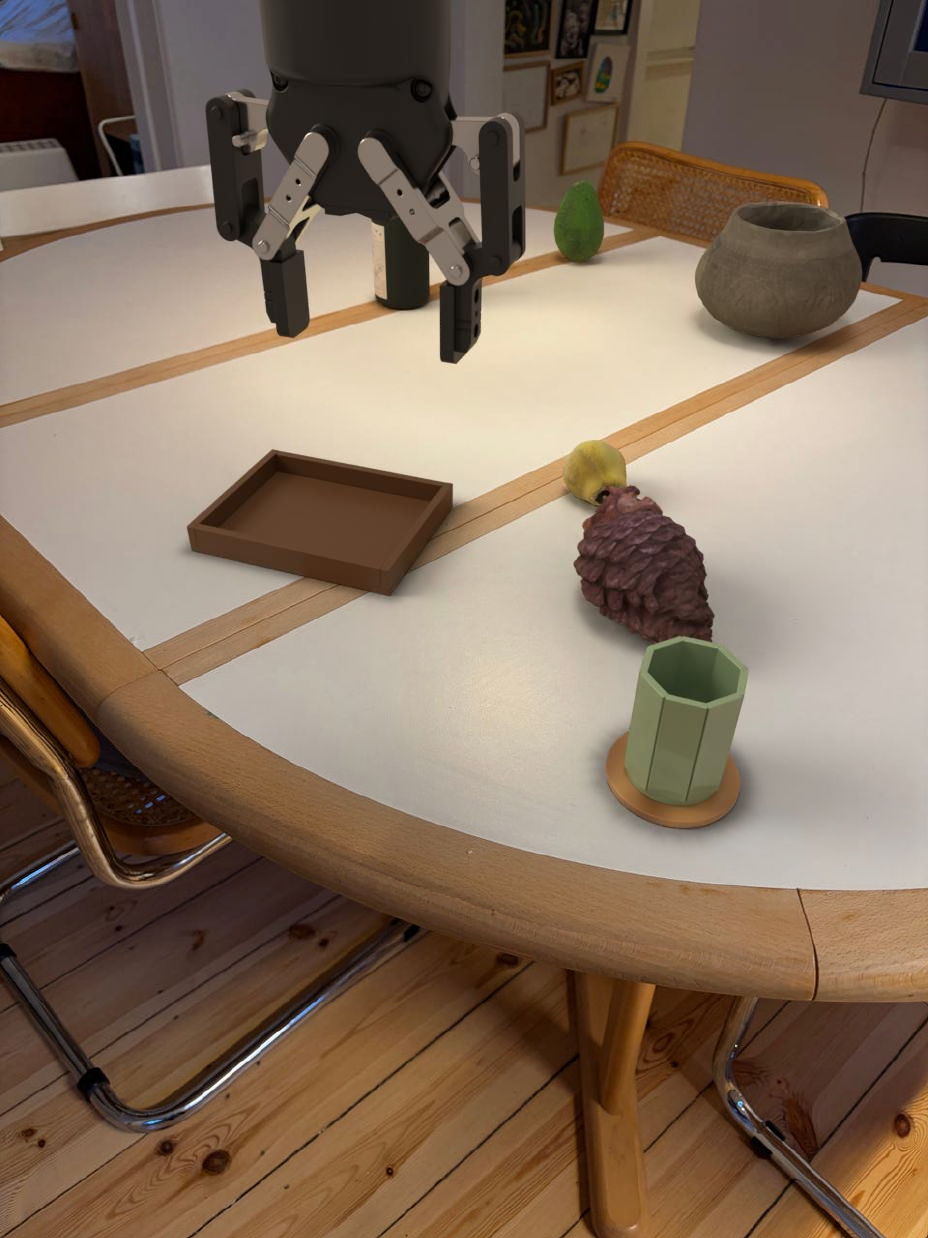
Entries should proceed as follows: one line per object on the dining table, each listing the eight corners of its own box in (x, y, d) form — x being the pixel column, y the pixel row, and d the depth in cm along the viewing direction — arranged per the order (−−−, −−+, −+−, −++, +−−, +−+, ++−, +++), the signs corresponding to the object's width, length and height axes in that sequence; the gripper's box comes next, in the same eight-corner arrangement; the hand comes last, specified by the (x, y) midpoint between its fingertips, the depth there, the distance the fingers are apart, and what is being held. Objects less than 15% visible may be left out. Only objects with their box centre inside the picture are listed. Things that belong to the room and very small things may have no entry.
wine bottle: (371, 310, 133) (359, 68, 115) (378, 291, 139) (368, 59, 121) (427, 311, 133) (424, 69, 114) (432, 293, 139) (430, 60, 121)
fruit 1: (578, 250, 156) (585, 172, 149) (610, 262, 151) (619, 183, 144) (542, 258, 153) (547, 179, 145) (573, 271, 148) (580, 190, 140)
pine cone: (762, 649, 74) (750, 596, 66) (654, 712, 76) (629, 668, 67) (652, 496, 84) (629, 433, 75) (557, 555, 85) (524, 498, 76)
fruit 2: (595, 533, 88) (541, 473, 94) (641, 532, 91) (586, 474, 97) (621, 482, 84) (564, 423, 90) (668, 483, 88) (609, 426, 94)
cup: (616, 791, 62) (632, 691, 56) (635, 727, 67) (652, 628, 61) (713, 817, 60) (740, 716, 55) (726, 749, 65) (752, 651, 59)
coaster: (591, 806, 62) (592, 800, 61) (620, 717, 68) (621, 711, 68) (730, 844, 59) (731, 838, 59) (745, 748, 66) (747, 742, 66)
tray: (191, 550, 85) (186, 526, 83) (275, 471, 96) (272, 448, 95) (389, 595, 80) (388, 570, 78) (453, 506, 91) (453, 483, 90)
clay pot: (830, 370, 118) (863, 248, 109) (668, 339, 126) (685, 223, 117) (858, 316, 134) (888, 205, 124) (711, 291, 141) (730, 185, 132)
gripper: (133, -71, 34) (204, 352, 44) (500, -60, 31) (487, 398, 41) (238, -76, 40) (280, 301, 50) (559, -68, 36) (535, 337, 46)
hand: (373, 344), depth 45 cm, fingers open, 8 cm apart
